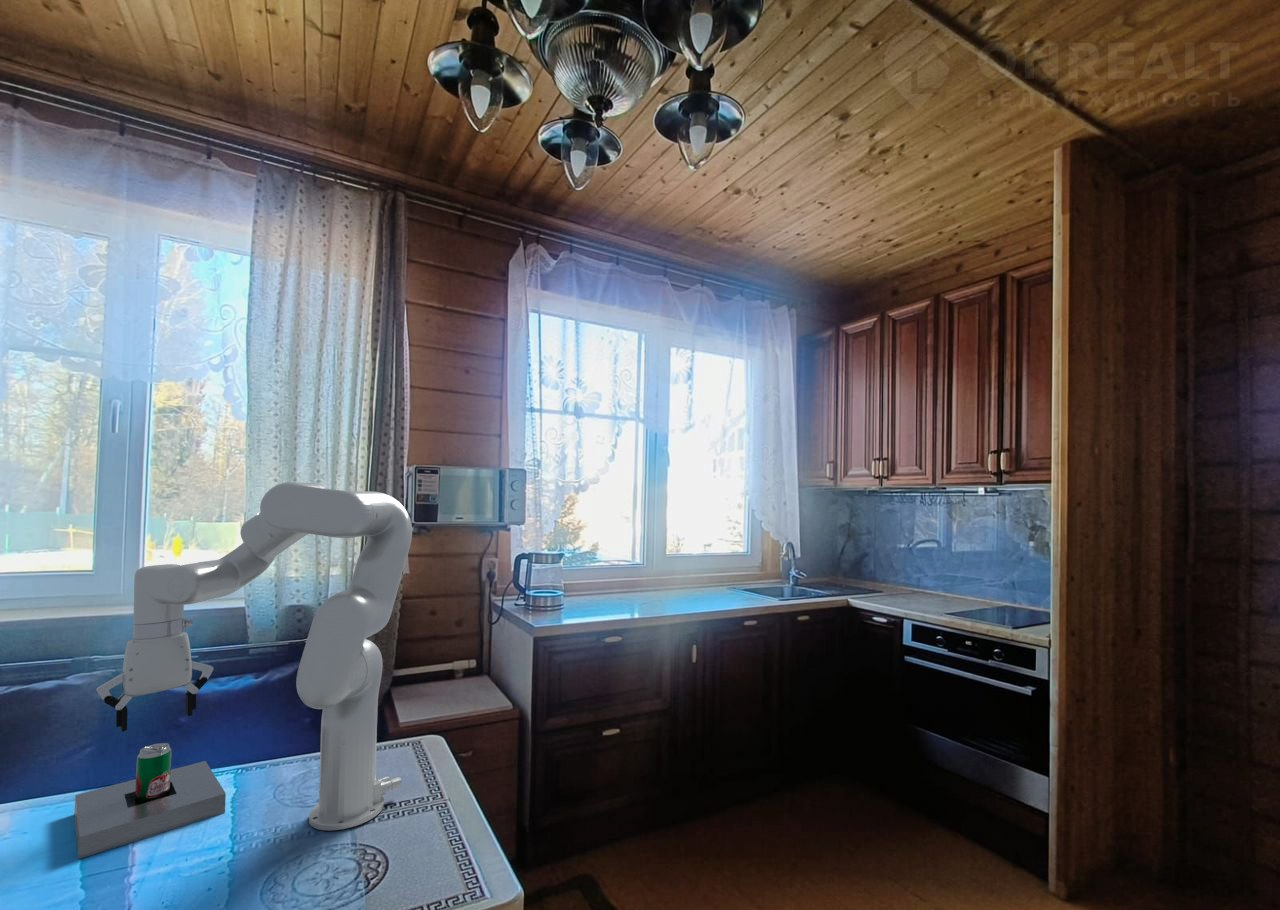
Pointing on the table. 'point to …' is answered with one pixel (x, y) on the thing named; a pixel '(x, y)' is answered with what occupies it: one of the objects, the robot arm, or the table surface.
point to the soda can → (153, 773)
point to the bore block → (145, 809)
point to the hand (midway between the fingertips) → (157, 721)
